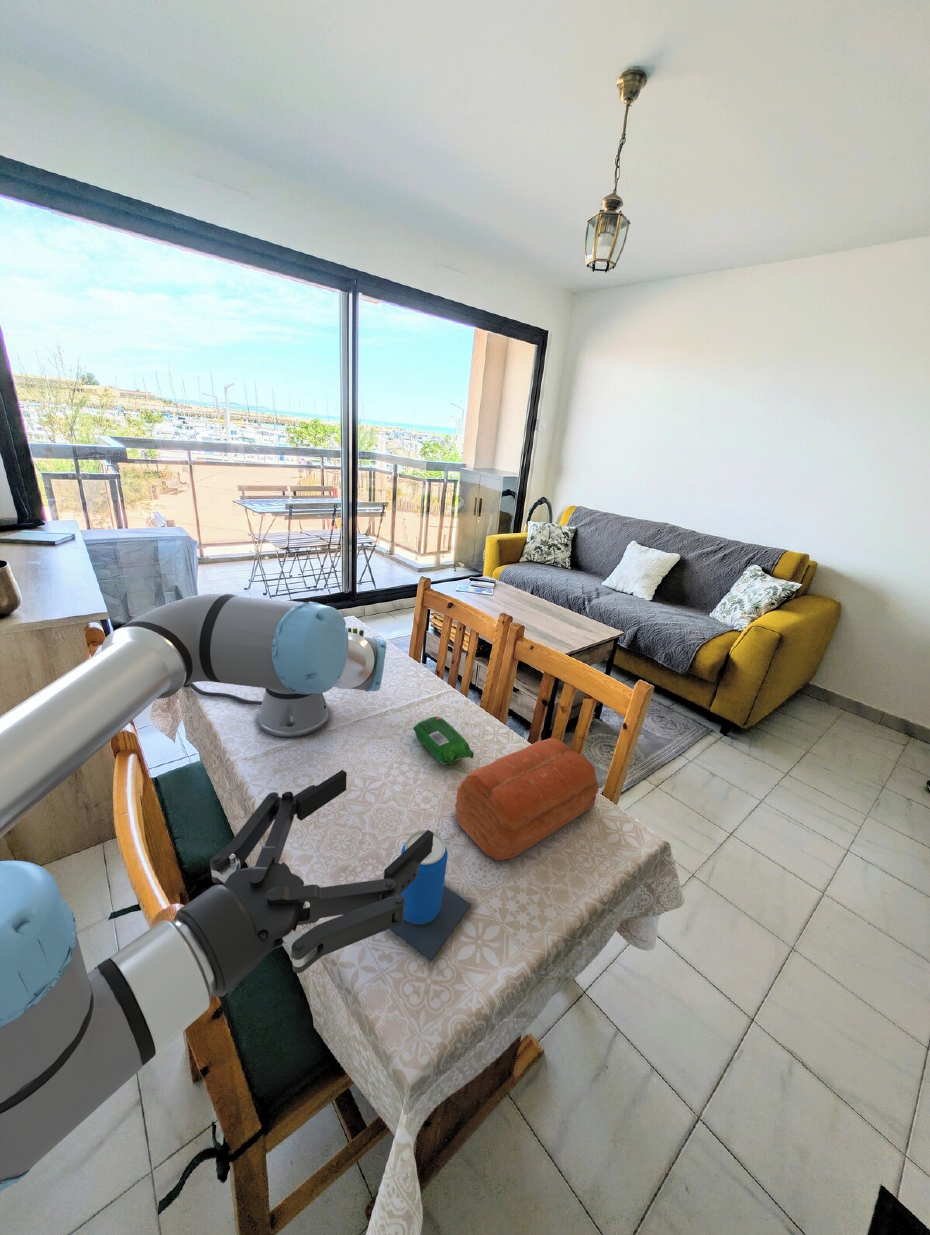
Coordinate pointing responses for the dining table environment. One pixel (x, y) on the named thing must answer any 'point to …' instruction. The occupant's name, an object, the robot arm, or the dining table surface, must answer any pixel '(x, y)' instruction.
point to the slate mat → (434, 925)
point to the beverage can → (426, 882)
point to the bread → (525, 797)
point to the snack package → (442, 740)
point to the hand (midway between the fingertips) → (384, 808)
